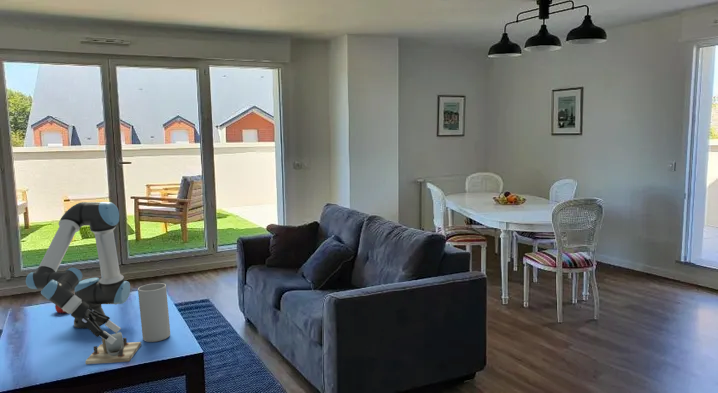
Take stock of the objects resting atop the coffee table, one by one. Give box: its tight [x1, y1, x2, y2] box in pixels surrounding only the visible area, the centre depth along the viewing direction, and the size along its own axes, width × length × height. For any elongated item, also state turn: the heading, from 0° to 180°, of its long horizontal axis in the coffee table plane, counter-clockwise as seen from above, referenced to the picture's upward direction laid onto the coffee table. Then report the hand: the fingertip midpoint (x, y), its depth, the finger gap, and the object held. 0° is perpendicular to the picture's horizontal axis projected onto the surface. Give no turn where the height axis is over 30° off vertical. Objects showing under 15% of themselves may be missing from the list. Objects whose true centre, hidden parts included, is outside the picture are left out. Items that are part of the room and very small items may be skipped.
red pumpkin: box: [54, 304, 68, 314], centre depth 301 cm, size 10×10×9 cm
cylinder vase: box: [137, 282, 171, 343], centre depth 259 cm, size 12×12×25 cm
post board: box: [85, 337, 142, 365], centre depth 242 cm, size 18×18×4 cm
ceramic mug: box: [101, 331, 124, 356], centre depth 240 cm, size 11×8×8 cm
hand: (116, 336), depth 242 cm, fingers open, 13 cm apart
